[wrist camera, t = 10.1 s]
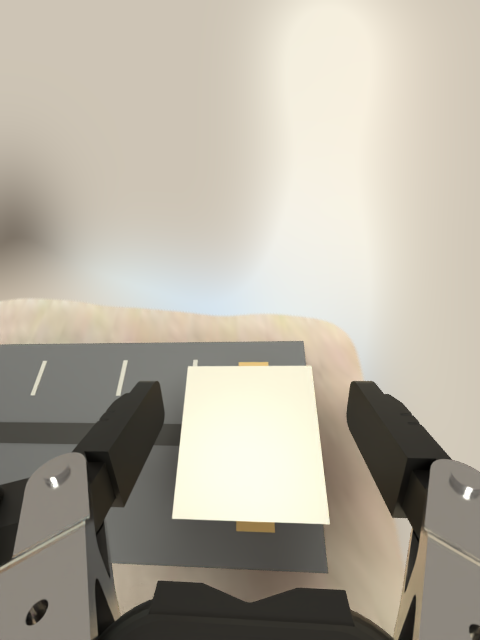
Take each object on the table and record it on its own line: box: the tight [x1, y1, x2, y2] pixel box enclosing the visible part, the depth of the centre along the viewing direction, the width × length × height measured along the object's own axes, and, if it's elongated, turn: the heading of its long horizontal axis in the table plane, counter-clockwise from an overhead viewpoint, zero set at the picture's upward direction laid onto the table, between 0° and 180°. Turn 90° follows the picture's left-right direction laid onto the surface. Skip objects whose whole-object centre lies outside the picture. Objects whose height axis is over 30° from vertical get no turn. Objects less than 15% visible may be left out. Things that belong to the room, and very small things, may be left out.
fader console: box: [0, 341, 328, 573], centre depth 16 cm, size 25×12×3 cm, turn 89°
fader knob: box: [172, 366, 330, 524], centre depth 10 cm, size 3×3×10 cm
